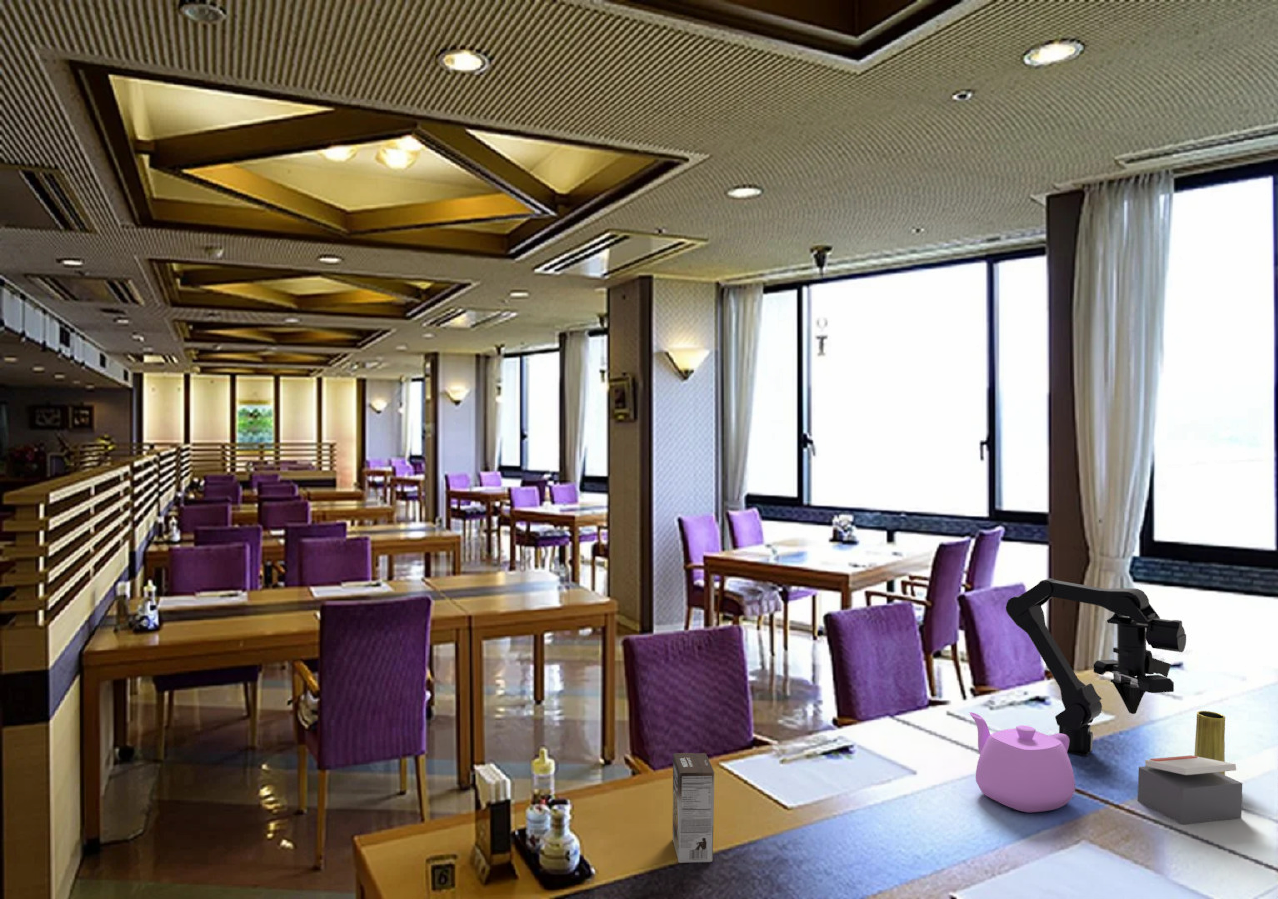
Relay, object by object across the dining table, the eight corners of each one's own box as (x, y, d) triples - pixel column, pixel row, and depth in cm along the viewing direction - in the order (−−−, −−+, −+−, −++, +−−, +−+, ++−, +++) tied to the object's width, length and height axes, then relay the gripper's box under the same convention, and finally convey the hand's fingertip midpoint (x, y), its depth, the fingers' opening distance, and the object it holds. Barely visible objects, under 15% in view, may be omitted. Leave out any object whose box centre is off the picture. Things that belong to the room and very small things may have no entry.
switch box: (1137, 800, 179) (1138, 767, 179) (1194, 795, 182) (1195, 762, 182) (1181, 824, 168) (1182, 788, 168) (1241, 818, 172) (1242, 783, 171)
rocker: (1145, 766, 178) (1144, 759, 179) (1194, 761, 181) (1193, 754, 181) (1185, 775, 169) (1184, 767, 169) (1236, 770, 172) (1235, 762, 172)
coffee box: (671, 839, 160) (672, 752, 160) (705, 838, 161) (706, 751, 160) (677, 863, 151) (678, 772, 151) (713, 862, 152) (715, 771, 151)
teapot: (1101, 805, 177) (1102, 731, 177) (1028, 824, 168) (1030, 747, 167) (1009, 765, 198) (1010, 699, 197) (940, 780, 188) (941, 712, 188)
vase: (1231, 785, 187) (1233, 720, 187) (1199, 783, 188) (1201, 718, 188) (1218, 774, 193) (1220, 711, 193) (1187, 772, 194) (1189, 709, 194)
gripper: (1195, 652, 190) (1196, 724, 190) (1133, 634, 208) (1134, 699, 208) (1150, 655, 188) (1151, 727, 188) (1091, 636, 206) (1092, 702, 206)
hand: (1132, 713), depth 198 cm, fingers closed
